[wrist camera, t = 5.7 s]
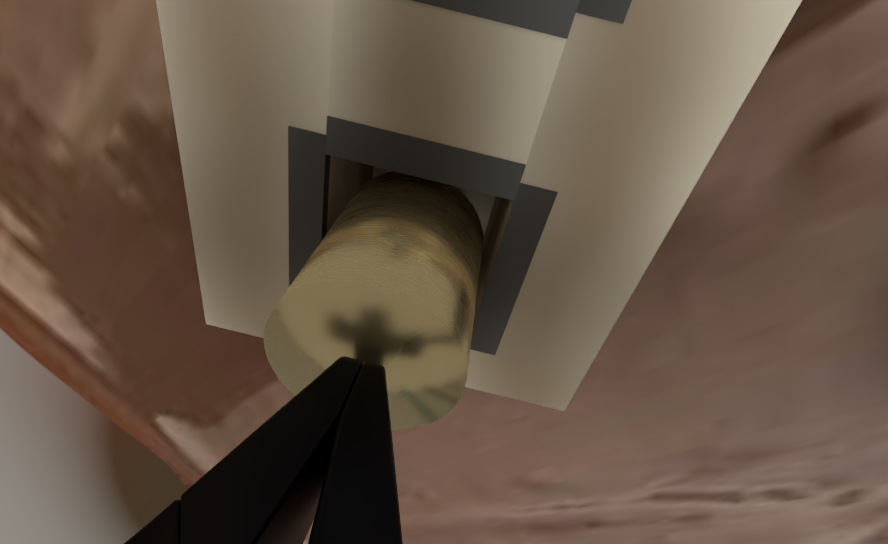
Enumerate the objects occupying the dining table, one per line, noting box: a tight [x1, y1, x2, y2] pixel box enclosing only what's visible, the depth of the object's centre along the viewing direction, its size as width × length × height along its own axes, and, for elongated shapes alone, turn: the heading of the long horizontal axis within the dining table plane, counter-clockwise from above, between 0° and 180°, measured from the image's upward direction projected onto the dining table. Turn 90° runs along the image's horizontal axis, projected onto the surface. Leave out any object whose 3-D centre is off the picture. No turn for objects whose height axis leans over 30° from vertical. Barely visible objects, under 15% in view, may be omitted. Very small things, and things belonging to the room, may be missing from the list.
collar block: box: [156, 0, 802, 411], centre depth 12 cm, size 12×18×6 cm, turn 169°
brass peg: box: [264, 171, 483, 430], centre depth 11 cm, size 4×4×5 cm
